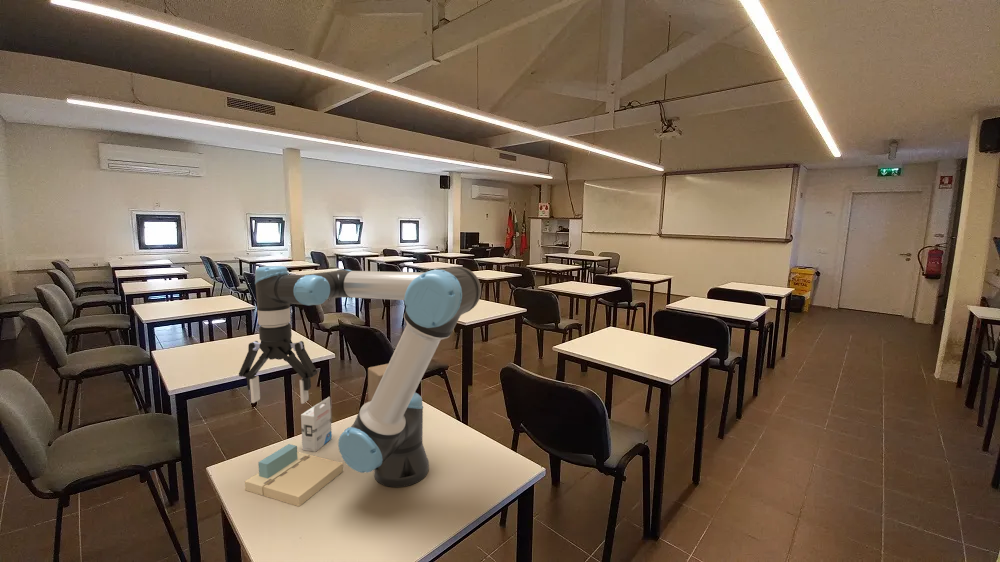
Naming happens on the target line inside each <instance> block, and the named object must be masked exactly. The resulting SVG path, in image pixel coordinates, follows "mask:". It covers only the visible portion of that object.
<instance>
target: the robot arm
mask: <svg viewBox="0 0 1000 562" xmlns="http://www.w3.org/2000/svg"><path fill="white" fill-rule="evenodd" d="M254 273H255V275H254V277H255V278H254V286H255V296H256V307H257V322H258V325H259V327H258V335H259V340H260V341H258V340H254V341H253V342H250V343H248V348H247V349H248V350H247V354H246V356H245V359H244V360H243V362H242V365H241V368H240V370H239V372H238V376H239V377H241V378H242V377H244V378H246V381H247V382H246V385H247V390H248V391H250V402H251V404H255V403H256V402H259V400H261V391H260V390H261V389H260V377H259V375H257V374H258V372H259V371H260V370H261V369H262V367H263V366H264V365H265V363H266V362H267V361H268V360H283V361H285V362H286V363H288V365H290V366H291V368H292V369H293V370H294V371H295V372H296V373H297V374H298V376H299V377H301V379H299V391H300V392H299V393H300V404H305V403H306V402H307V401H309V400H310V398H309V390H311V388H312V381H311V378H313V377H315V376H316V375H317V374H318V370H317V368H316V365H314V363H313V361H312V359H311V358H310V356H309V353H308V352H307V351H306V349H305V343H304V341H302V340H300V341H298V342H293V341H292V324H291V323H290V322H291V304H293V305H304V306H309V307H310V306H319V305H322V304H324V303H325V302H326V301H327V300H331V299H338V298H347V299H348V298H353V299H354V298H355V299H371V300H372V299H375V300H376V299H377V300H394V301H395V300H396V301H404V304H403V305H405V311H404V314H403V318H404V321H405V323H406V325H405V328H404V330H403V332H402V334H401V336H400V338H399V341H398V342H397V345H396V347H395V349H394V350H393V354H392V355H391V357H390V360H389V362H388V363H387V364H388V366H387V368H386V370H385V372H384V375H383V377H382V379H381V381H380V383H379V385H378V387H377V390H376V392H375V394H374V396H373V398H372V400H371V401H370V402H368V401H367V402H365V403H364V404H363V405H362V406H361V407H360V409H359V410H358V411H359V412H358V414H357V415H356V418H355V420H354V422H353V424H352V425H351V426H350V427H347V428H345V429H344V431H343V432H342V433H341V434H340V436H339V439H338V443H337V445H338V451H339V453H340V456H341V458H342V460H343V462H344V463H345V464H346V465H347V466H348V467H349V468H351V469H352V470H354V471H356V472H357V473H361V474H363V473H367V474H368V473H371V472H373V471H374V473H373V474H374V475H373V476H374V479H375V480H376V482H378V483H379V484H381V485H383V486H385V487H388V488H389V487H390V488H403V487H408V486H411V485H415V484H416V483H419V482H421V480H423V479H424V478H425V477H426V476H427V474H428V473H429V469H430V467H429V466H430V465H429V459H428V455H427V453H426V452H427V451H426V450H425V447H424V444H423V434H424V433H423V424H424V423H423V421H424V420H423V418H424V417H423V416H424V414H423V413H424V411H423V410H424V406H423V398H422V396H421V395H420V394H419V393H417V392H416V391H417V389H418V387H419V384H420V383H421V382H422V378H423V377H424V375H425V373H426V371H427V369H428V367H429V365H430V364H431V361H432V359H433V357H434V355H435V353H436V350H437V349H438V347H439V345H440V342H441V340H446V339H448V338H450V337H451V335H452V333H453V331H454V329H455V327H456V325H457V324H458V321H459V320H460V318H461V316H462V315H464V314H466V313H468V312H470V311H471V310H473V309H474V308H475V307H476V306H477V305H478V304H479V303H478V302H479V301H480V299H481V294H482V287H481V283H480V280H479V278H478V276H477V275H476V274H475V273H474V272H473V271H472V270H470V269H468V268H467V267H462V266H452V267H447V268H435V269H432V270H428V271H425V272H417V271H415V272H414V271H376V270H375V271H373V270H372V271H371V270H351V269H337V270H332V271H326V272H323V271H322V272H315V273H307V274H289V272H288V268H287V266H284V265H268V266H267V265H265V266H259V267H256V268H255V271H254ZM292 349H293V351H295V353H296V354H295V353H294V352H293V351H292ZM259 350H261V352H262V354H261V355H260V356H259V357H258V359H257V361H256V362H255V363H254V361H255V359H256V356H257V354H258V351H259ZM296 355H297V356H296ZM297 357H298V358H297Z"/></svg>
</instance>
